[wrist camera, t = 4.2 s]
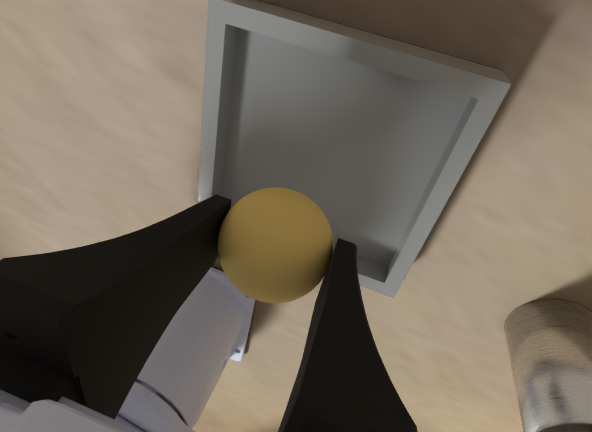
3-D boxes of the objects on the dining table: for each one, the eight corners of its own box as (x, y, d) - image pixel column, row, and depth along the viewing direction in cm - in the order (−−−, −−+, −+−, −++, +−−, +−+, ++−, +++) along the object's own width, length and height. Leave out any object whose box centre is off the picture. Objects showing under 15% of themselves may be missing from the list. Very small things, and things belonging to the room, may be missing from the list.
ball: (328, 267, 16) (300, 344, 13) (240, 234, 16) (193, 300, 13) (357, 189, 13) (331, 260, 10) (253, 153, 14) (198, 211, 11)
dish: (396, 273, 22) (393, 297, 21) (212, 207, 24) (196, 225, 22) (503, 71, 15) (511, 84, 14) (230, -8, 17) (208, -4, 15)
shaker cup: (566, 367, 23) (619, 532, 16) (486, 337, 23) (507, 485, 17) (624, 318, 20) (717, 495, 13) (531, 286, 20) (577, 440, 14)
